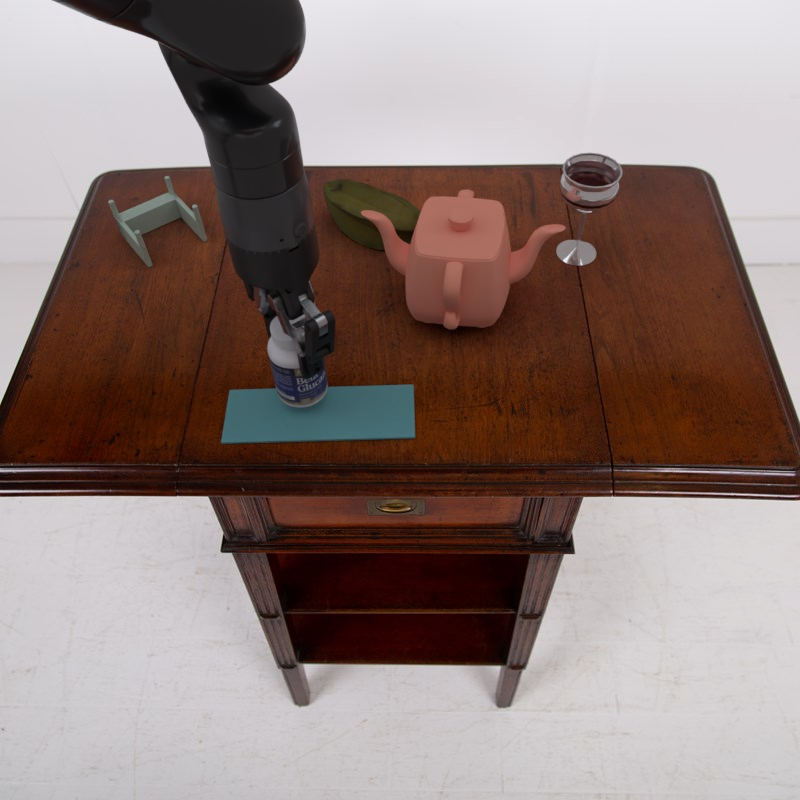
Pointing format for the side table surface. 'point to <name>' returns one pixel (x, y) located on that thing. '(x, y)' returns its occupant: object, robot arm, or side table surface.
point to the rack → (155, 219)
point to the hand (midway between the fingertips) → (296, 355)
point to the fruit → (356, 197)
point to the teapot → (459, 259)
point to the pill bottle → (292, 370)
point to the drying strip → (321, 416)
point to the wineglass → (587, 198)
